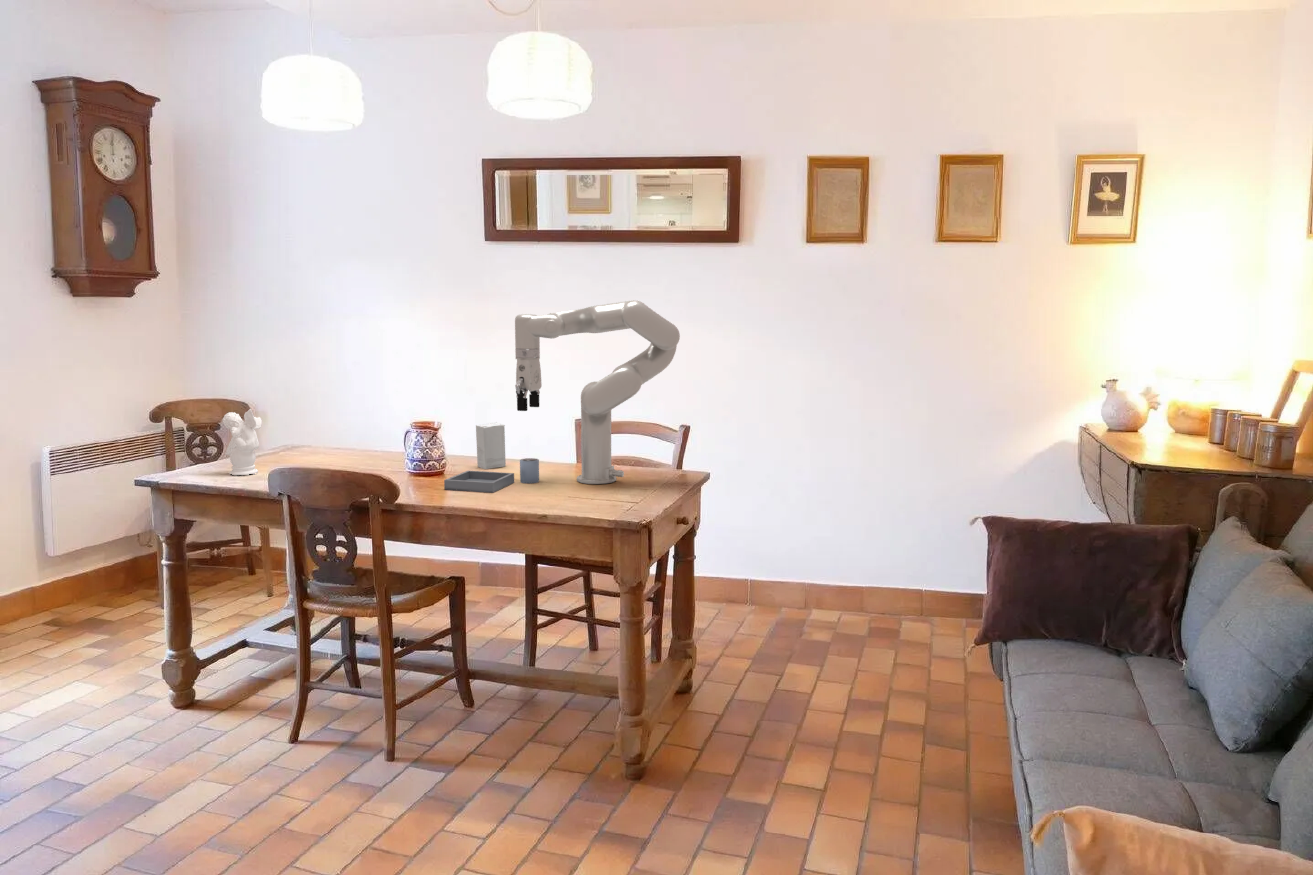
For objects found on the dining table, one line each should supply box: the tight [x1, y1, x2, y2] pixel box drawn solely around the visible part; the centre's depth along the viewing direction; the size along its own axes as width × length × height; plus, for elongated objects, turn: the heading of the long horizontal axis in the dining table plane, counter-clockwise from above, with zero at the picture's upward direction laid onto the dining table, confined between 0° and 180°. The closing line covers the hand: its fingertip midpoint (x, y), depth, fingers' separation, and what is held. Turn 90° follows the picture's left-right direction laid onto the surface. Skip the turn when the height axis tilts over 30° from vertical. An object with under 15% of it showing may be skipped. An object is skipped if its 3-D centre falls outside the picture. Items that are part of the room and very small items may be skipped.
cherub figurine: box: [222, 408, 263, 476], centre depth 319 cm, size 12×12×22 cm
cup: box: [519, 457, 540, 484], centre depth 308 cm, size 6×6×7 cm
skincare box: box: [475, 422, 507, 470], centre depth 331 cm, size 8×6×15 cm
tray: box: [443, 470, 515, 494], centre depth 301 cm, size 16×16×3 cm
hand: (528, 408), depth 305 cm, fingers open, 9 cm apart
